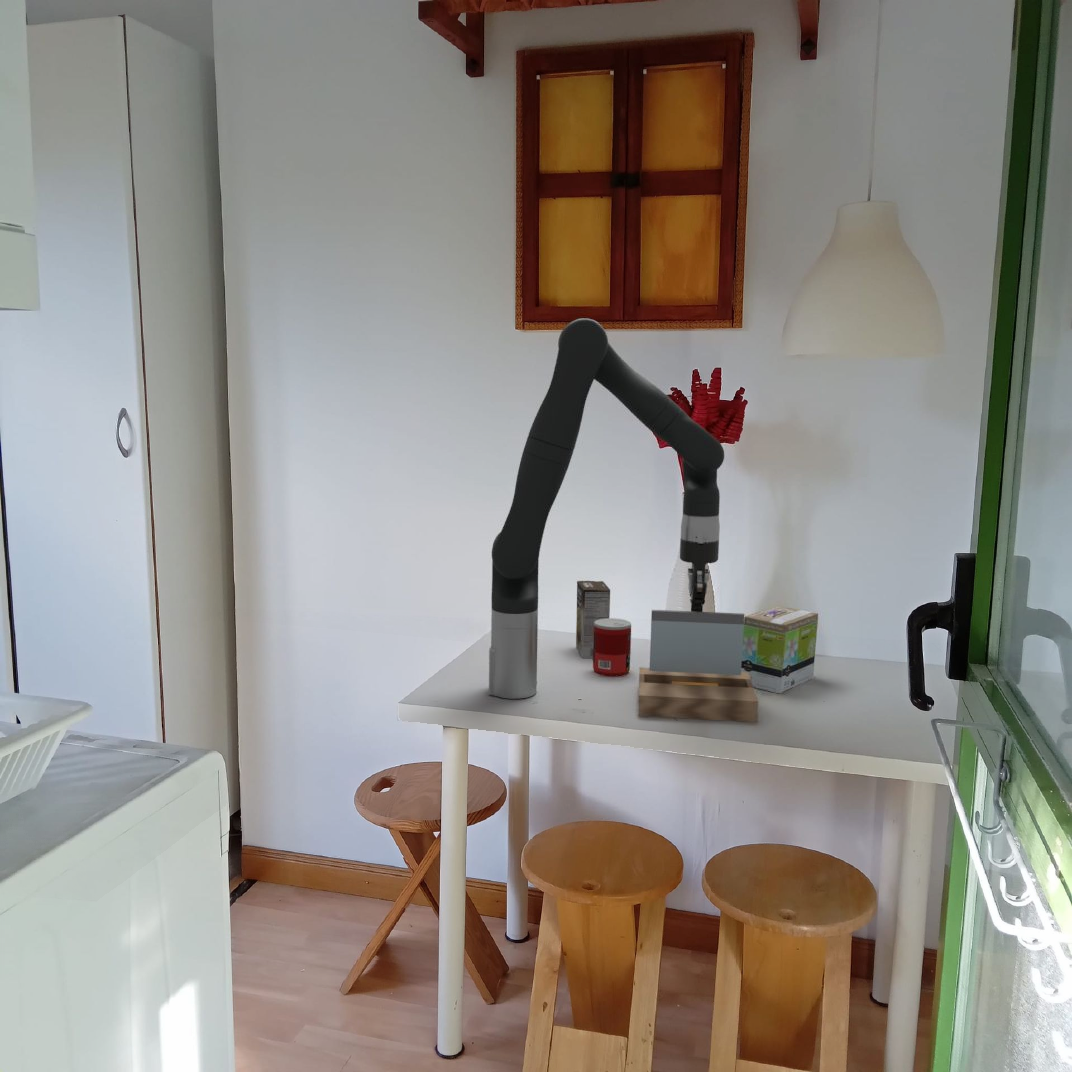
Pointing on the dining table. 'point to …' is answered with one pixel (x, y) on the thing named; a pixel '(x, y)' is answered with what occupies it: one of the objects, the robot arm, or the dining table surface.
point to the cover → (696, 642)
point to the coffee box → (590, 613)
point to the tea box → (779, 647)
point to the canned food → (611, 647)
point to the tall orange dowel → (695, 683)
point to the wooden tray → (697, 696)
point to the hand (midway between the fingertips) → (696, 622)
